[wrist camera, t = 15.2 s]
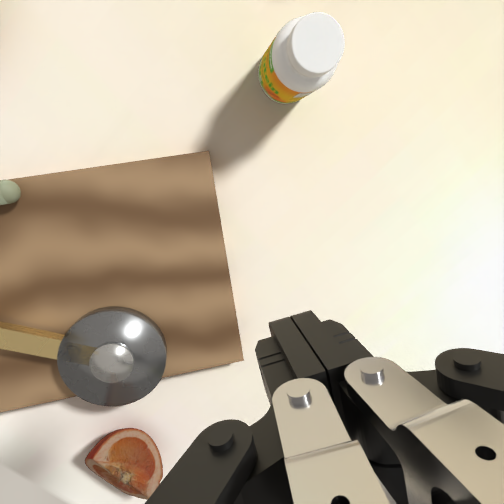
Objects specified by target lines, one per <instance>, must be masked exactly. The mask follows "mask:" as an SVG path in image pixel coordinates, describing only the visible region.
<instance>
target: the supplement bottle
mask: <svg viewBox="0 0 504 504" xmlns="http://www.w3.org/2000/svg"><path fill="white" fill-rule="evenodd" d="M344 44H345V42H344V34H343V31H342V28H341V26H340V25H339V23H338V22H337V21H336V20H335V19H334V18H333V17H332V16H330V15H329V14H326V13H322V12H313V13H310V14H307V15H305V16H302V17H298V18H295V19H293V20H291V21H289V22H288V23H287V24H286V25H284V26H283V28H282V29H281V30H280V31H279V32H278V34H277V35H276V37H275V38H274V40H273V42H272V43H271V45H270V46H269V48H268V49H267V50H266V52H265V53H264V55H263V57H262V59H261V61H260V64H259V70H258V76H259V82H260V85H261V87H262V89H263V91H264V92H265V94H266V95H267V96H268V97H269V98H270V99H272V100H273V101H275V102H278V103H282V104H289V103H293V102H296V101H298V100H300V99H302V98H304V97H305V96H307V95H309V94H311V93H312V92H314V91H316V90H318V89H319V88H321V87H322V86H323V85H325V84H326V83H327V82H328V81H329V80H330V79H331V77H332V76H333V74H334V72H335V70H336V68H337V65H338V62H339V61H340V59H341V57H342V54H343V51H344Z"/></svg>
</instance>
